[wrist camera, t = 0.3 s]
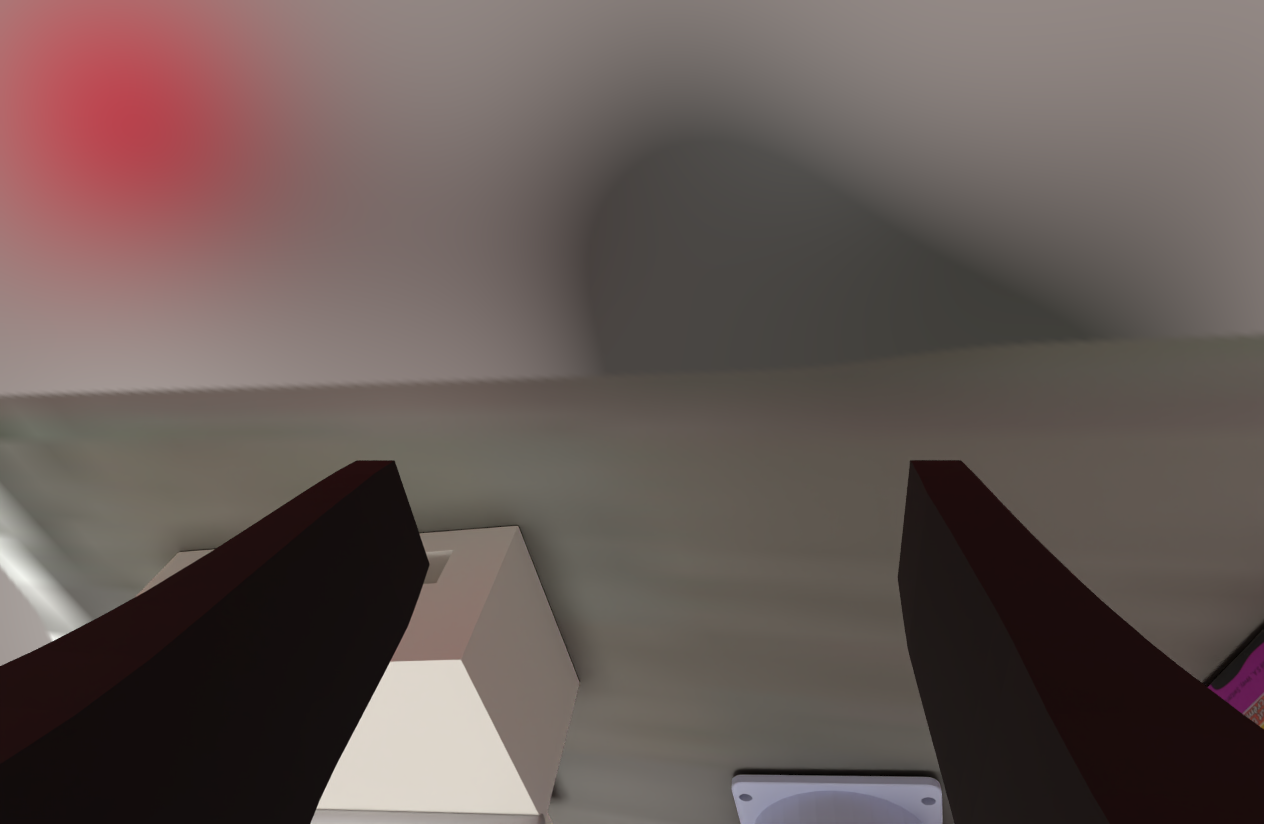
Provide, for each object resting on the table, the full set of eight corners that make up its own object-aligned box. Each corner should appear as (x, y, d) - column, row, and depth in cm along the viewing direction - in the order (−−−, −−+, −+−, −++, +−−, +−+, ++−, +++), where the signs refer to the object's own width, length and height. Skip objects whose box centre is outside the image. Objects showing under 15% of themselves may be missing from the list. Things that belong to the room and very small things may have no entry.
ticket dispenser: (581, 686, 28) (541, 847, 23) (277, 691, 32) (185, 833, 27) (518, 525, 24) (452, 678, 19) (178, 552, 28) (47, 687, 23)
